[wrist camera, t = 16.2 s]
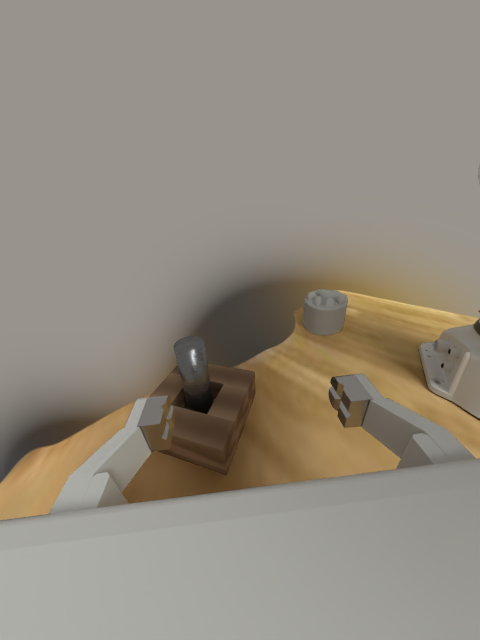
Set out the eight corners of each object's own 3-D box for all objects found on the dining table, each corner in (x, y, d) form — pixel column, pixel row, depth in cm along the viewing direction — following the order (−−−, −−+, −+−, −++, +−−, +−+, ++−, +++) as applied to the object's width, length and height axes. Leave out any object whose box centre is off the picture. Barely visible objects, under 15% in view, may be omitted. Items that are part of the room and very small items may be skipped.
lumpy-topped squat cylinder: (345, 317, 63) (350, 288, 59) (339, 339, 53) (345, 306, 49) (309, 311, 68) (311, 284, 64) (296, 330, 58) (299, 300, 54)
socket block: (187, 379, 43) (183, 358, 41) (255, 393, 39) (254, 371, 37) (137, 444, 32) (127, 421, 29) (226, 474, 27) (222, 450, 25)
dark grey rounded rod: (196, 399, 37) (184, 334, 31) (218, 405, 36) (209, 338, 30) (184, 419, 34) (167, 350, 28) (207, 425, 33) (195, 354, 27)
